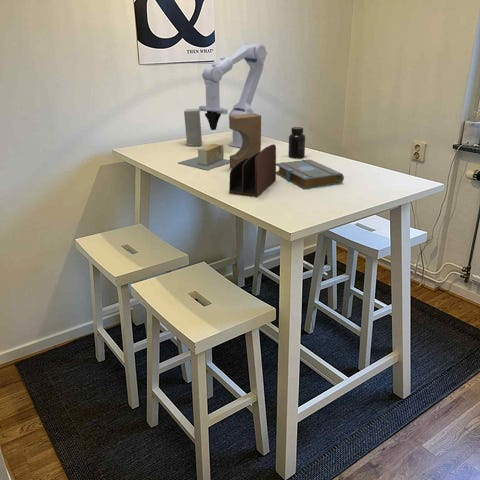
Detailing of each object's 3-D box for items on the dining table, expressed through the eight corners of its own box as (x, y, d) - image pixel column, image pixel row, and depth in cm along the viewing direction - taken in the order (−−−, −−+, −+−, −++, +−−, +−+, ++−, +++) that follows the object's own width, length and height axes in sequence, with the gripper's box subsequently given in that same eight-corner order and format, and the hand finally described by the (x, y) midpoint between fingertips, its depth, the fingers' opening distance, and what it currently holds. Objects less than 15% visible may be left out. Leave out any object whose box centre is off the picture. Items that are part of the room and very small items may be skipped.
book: (343, 184, 169) (344, 170, 167) (302, 190, 163) (303, 176, 161) (311, 169, 187) (312, 156, 185) (273, 174, 180) (273, 161, 178)
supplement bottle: (304, 154, 205) (305, 126, 200) (304, 158, 199) (306, 129, 194) (288, 154, 206) (289, 126, 201) (288, 158, 200) (289, 129, 195)
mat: (204, 155, 204) (204, 154, 204) (233, 161, 195) (233, 161, 195) (177, 163, 193) (177, 162, 193) (206, 170, 184) (206, 169, 183)
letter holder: (276, 180, 172) (277, 141, 166) (257, 198, 155) (257, 155, 150) (250, 177, 176) (250, 139, 170) (228, 194, 159) (228, 152, 153)
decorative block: (235, 171, 182) (235, 117, 174) (229, 167, 187) (228, 115, 179) (261, 167, 187) (262, 115, 179) (254, 164, 192) (254, 113, 183)
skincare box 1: (200, 146, 219) (199, 110, 212) (185, 146, 219) (183, 110, 213) (202, 142, 227) (201, 107, 220) (187, 142, 227) (185, 107, 220)
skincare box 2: (224, 158, 198) (207, 166, 188) (215, 157, 200) (198, 165, 190) (223, 143, 195) (206, 150, 186) (214, 142, 197) (197, 149, 188)
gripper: (193, 96, 203) (194, 128, 208) (219, 99, 194) (219, 133, 200) (204, 94, 208) (205, 126, 213) (230, 97, 199) (230, 130, 205)
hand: (213, 129), depth 207 cm, fingers closed
